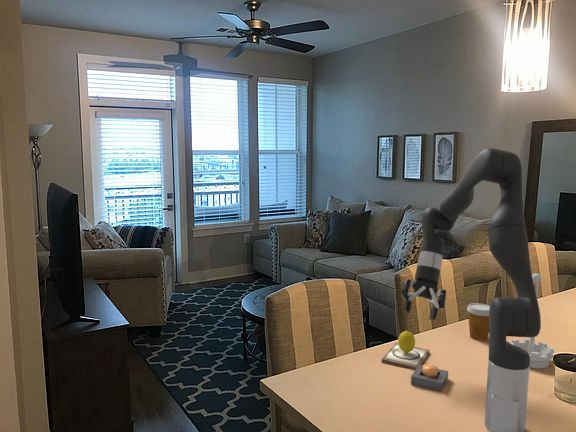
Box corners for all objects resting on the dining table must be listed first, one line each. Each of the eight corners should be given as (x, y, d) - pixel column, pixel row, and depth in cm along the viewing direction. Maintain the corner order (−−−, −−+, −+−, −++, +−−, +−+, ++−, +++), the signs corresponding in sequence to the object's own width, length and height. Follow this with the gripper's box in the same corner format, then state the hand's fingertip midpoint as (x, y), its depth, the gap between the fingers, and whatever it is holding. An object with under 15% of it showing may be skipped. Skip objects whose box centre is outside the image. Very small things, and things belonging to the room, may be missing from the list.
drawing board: (417, 370, 150) (418, 366, 150) (381, 362, 156) (381, 358, 155) (429, 352, 164) (429, 349, 163) (395, 345, 169) (395, 342, 169)
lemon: (396, 354, 158) (396, 331, 158) (400, 348, 163) (401, 326, 162) (412, 357, 156) (413, 334, 155) (416, 352, 161) (417, 329, 160)
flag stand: (514, 350, 166) (520, 267, 163) (556, 360, 158) (562, 273, 155) (504, 362, 156) (509, 273, 153) (548, 373, 148) (555, 280, 145)
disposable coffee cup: (498, 340, 175) (500, 309, 174) (478, 343, 172) (480, 311, 171) (479, 331, 184) (480, 301, 183) (459, 334, 181) (461, 304, 179)
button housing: (441, 391, 136) (442, 383, 136) (410, 384, 140) (411, 376, 140) (447, 378, 144) (448, 371, 144) (418, 372, 148) (418, 364, 148)
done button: (435, 379, 139) (436, 371, 139) (420, 376, 141) (421, 368, 141) (438, 373, 143) (439, 366, 142) (424, 370, 145) (424, 363, 145)
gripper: (413, 260, 149) (403, 311, 146) (454, 272, 151) (445, 322, 148) (404, 262, 157) (394, 310, 153) (443, 273, 158) (434, 321, 155)
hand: (419, 316), depth 150 cm, fingers open, 8 cm apart
